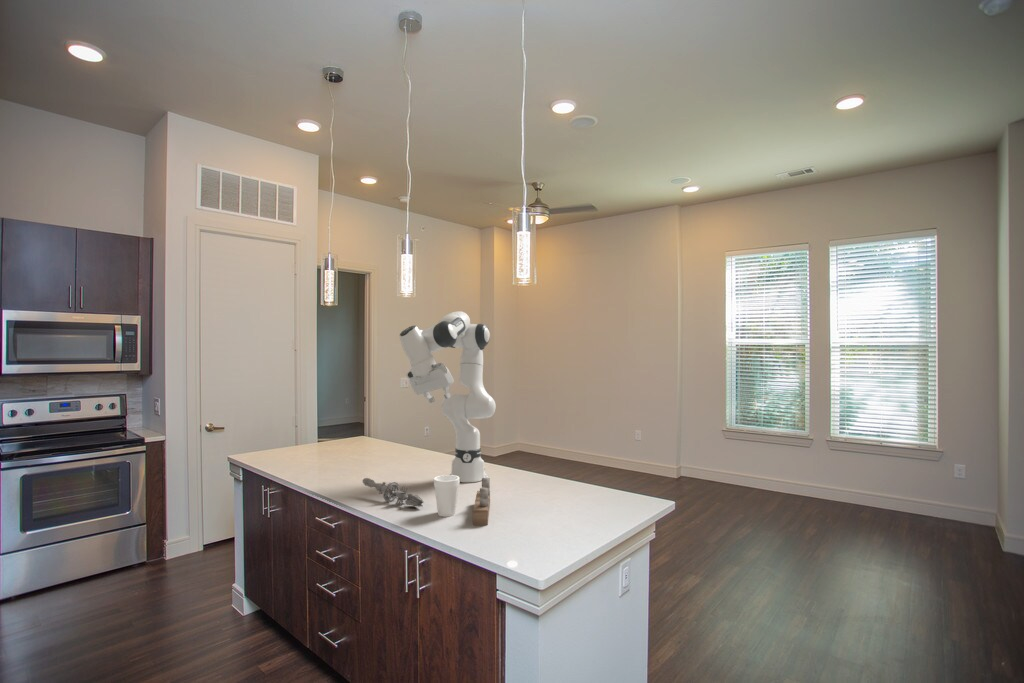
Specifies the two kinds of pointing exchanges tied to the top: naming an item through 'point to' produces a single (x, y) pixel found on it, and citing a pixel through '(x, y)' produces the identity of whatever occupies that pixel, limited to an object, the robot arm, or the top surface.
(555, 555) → the top surface
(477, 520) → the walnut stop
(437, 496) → the foam cup
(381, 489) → the spaceship
